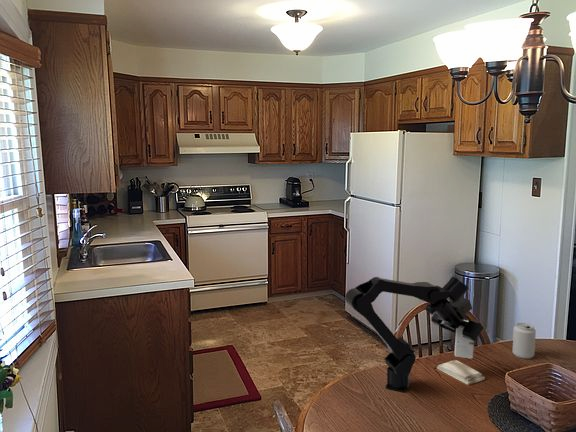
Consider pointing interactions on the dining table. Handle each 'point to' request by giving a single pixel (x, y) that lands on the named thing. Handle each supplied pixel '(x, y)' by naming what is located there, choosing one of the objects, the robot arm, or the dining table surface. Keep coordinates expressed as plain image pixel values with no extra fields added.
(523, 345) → the can
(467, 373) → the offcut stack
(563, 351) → the dining table surface
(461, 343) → the skincare box
